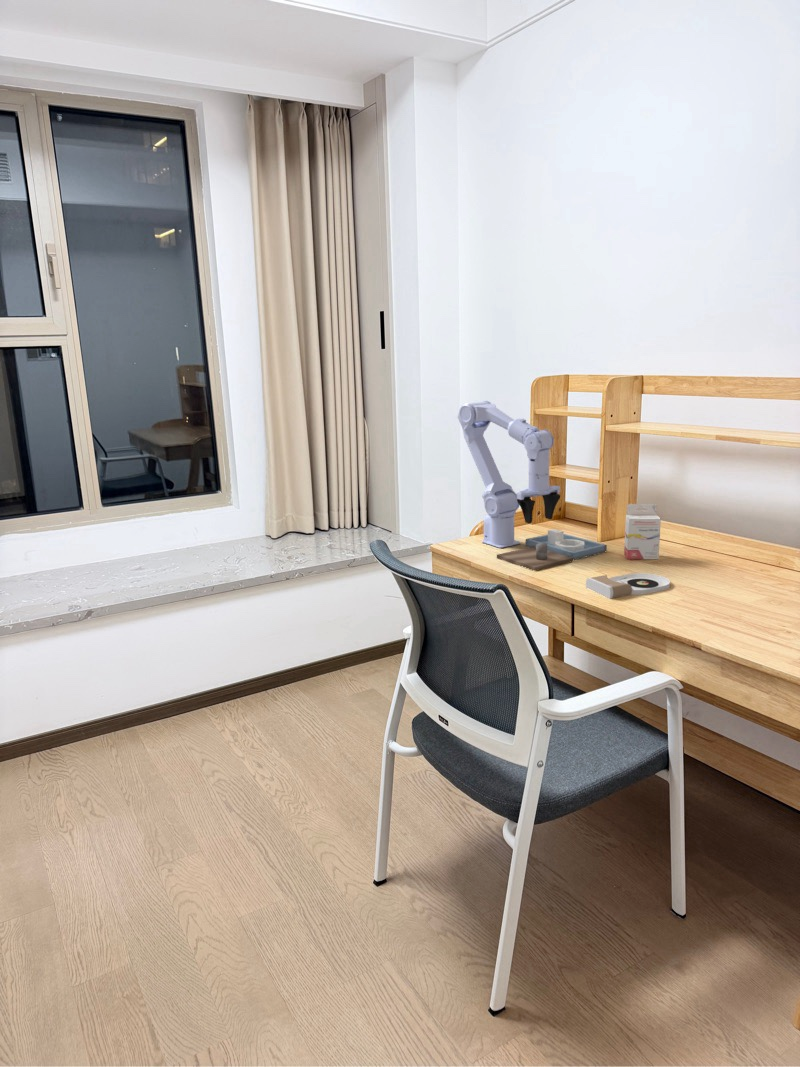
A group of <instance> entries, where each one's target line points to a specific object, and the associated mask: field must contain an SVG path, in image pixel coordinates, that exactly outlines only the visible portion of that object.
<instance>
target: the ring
mask: <svg viewBox="0 0 800 1067" xmlns="http://www.w3.org/2000/svg"><path fill="white" fill-rule="evenodd" d="M547 534H548V543H549V544H552V545H555V546H556V547H559V548H562V549H566V550H569V551H573V552H574V551H578V550H583V549H584V541H580V540H576V539H563V534H564V530H560V529H555V528H552V529H548V530H547ZM566 545H575V546H566Z"/></svg>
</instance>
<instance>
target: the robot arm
mask: <svg viewBox="0 0 800 1067" xmlns="http://www.w3.org/2000/svg"><path fill="white" fill-rule="evenodd" d="M457 419H458V422H459V423H460V426H461V428H462V431H463V432H462V434H463V438H464V440H465V443H466V445H467V447H468V449H469V452H470V454H471V457H472V459H473V461H474V463H475V466H476V468H477V470H478V474H479V475H480V478H481V479H482V481H483V484H484V486H485V491H484V492H483V493H482V499H483V502H484V504H483V505H484V510H485V512H486V513H487V514H486V515H485V517H484V518H483V519H484V520H483V539H482V540H481V542H482V543H484V544H487V545H490V546H493V547H497V548H499V549H502V548H503V549H504V548H507V547H511V546H517V545H521V543H522V542H521V541H518V540H515V515H516V514H517V511H518V509H519V508H520V509H521V511H522V514H523V518H524V522H525V523H526V524H532V523H533V510H534V507H535V503H536V501H535V500H533V499H532V498H535V497H536V498H537V497H540V496H542V500H543V504H544V517H545V519H547V520H553V517H554V512H555V508H556V506H557V504H558V502H559V501H560V499H561V494H560V493H561V486H560V485H550V450H551V449H552V448H553V447H554V444H555V443H554V442H555V441H554V437H553V434H552V433H551V432H550V431H549V430H548V429H542V430H541V429H539V427H537V426H533V425H532V424H530V423H528V422H527V419H525V418H516V419H514V418H513V417H510V415H508V414H506V413H505V412H503V411H502V410H501V409H499V408H497V406H496V404H494V403H492V402H491V401H488V400H483V401H477V402H471V403H468V402H466V403H462V404H461V405H460V408H459V410H458V415H457ZM491 423H493V424H495V425H497V426H499V427H501V428H503V429H505V431H506V430H507V432H508V435H509V437H511V438H512V439H514V440H516V441H518V443H521V444H522V445H523V446H524V449H525V451H526V455H527V459H528V488H526V489H524V490H520V491H517V492H515V491H514V489H513V487H512V485H510V484H508V483H507V482H505V481H504V480H503V478H502V476H501V473H500V471H499V469H498V467H497V464H496V462H495V459H494V458H493V455H492V453H491V450H490V448H489V446H488V444H487V441H486V439H485V436H484V433H485V432H486V431H487V429H488V427H490V426H489V425H490V424H491Z"/></svg>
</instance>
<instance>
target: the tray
mask: <svg viewBox="0 0 800 1067" xmlns="http://www.w3.org/2000/svg"><path fill="white" fill-rule="evenodd" d="M563 539H576V540H580V541H584V549H583V550H578V551H574V552H573V551H569V550H566V549H562V548H559V547H556V546H555V545H552V544H549V543H548V533H547V534H543V535H538V536H533V537H528V538H525V546H526V547H528V548H529V547H533V546H535V547H536V544H538V543H545V544H547V550H548V551H552V552H555V553H558V554H562V555H565V556H568V557H572V558H573V561H575V560H579V559H583V558H587V557H591V556H590V555H592V556H595V555H594V554H596V555H599V554H598V553H600V554H603V553H602V552H604V553H606V552H605V551H607V550H608V547H607V546H608V545H607V544H604V543H600V542H597V541H593V540H588V539H585V538H581V537H579V536H578V537H577V536H574V535H571V534H566V533H563ZM566 546H575V545H566ZM607 552H608V551H607ZM586 556H587V557H586ZM582 557H583V558H582Z"/></svg>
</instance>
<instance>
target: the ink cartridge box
mask: <svg viewBox="0 0 800 1067" xmlns="http://www.w3.org/2000/svg"><path fill="white" fill-rule="evenodd" d="M642 508H643V509H646V510H642ZM638 509H640V510H638ZM657 510H658V505H657V504H656V503H654V504H651V503H646V504H644V503H643V504H642V503H640V504H639V503H635V504H634V503H633V504H630V503H629V504H627V505H626V515H625V524H624V530H625V531H624V549H623V550H624V551H623V555H624V556H625V558H626V559H627V560H630V559H658V560H659V555H660V541H661V540H660V538H661V523H662V521H661V518H660V516H658V514H657Z"/></svg>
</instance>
